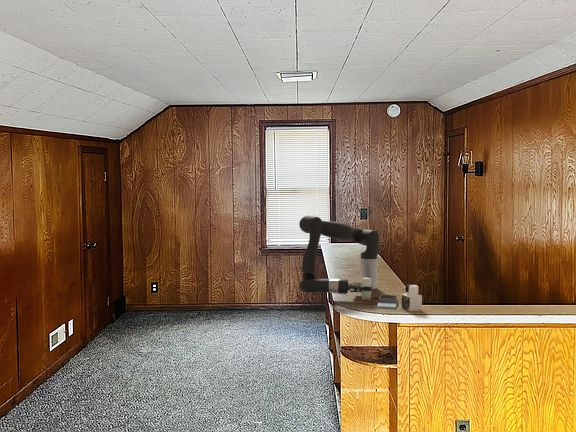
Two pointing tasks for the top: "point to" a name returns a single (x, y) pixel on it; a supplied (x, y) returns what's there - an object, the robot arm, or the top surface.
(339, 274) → the top surface
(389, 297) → the charcoal pit
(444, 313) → the top surface
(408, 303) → the medicine bottle
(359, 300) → the walnut channel
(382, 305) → the slate-blue platform
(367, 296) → the sage canister
